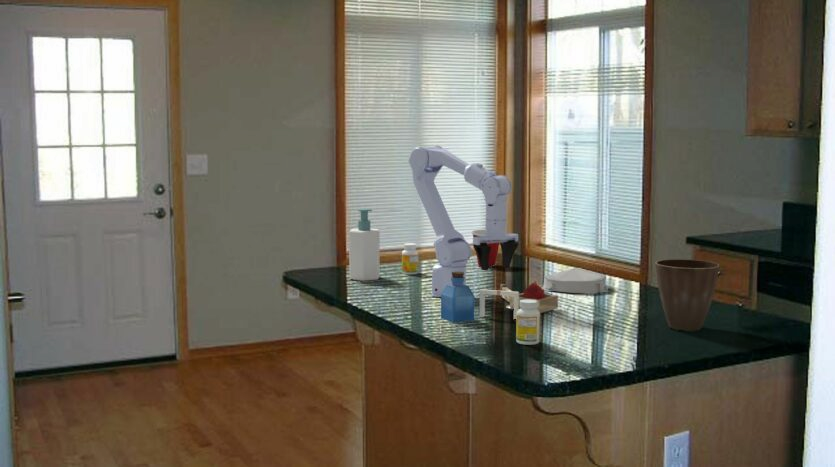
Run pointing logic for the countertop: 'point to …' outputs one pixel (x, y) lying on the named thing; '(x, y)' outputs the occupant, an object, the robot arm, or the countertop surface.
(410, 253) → the supplement bottle
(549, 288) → the food container
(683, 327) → the plant pot
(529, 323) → the supplement bottle
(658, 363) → the countertop surface
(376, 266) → the soap bottle
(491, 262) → the plastic cup
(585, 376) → the countertop surface
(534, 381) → the countertop surface
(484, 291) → the white goalpost frame
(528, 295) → the onion
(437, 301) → the countertop surface
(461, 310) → the perfume bottle
